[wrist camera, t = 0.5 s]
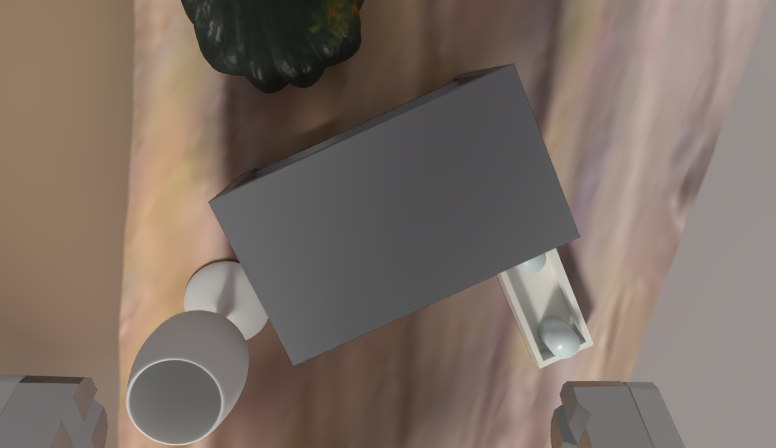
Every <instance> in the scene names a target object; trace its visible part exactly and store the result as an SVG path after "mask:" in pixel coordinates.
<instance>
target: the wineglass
mask: <svg viewBox="0 0 776 448" xmlns="http://www.w3.org/2000/svg"><path fill="white" fill-rule="evenodd" d="M184 310H185V312H183V313H180V314H177V315H175V316H173V317H171V318H170V319H168V320H166V321H165V322H164V323H162V324H161V325H160V326H159V327H158V328H157V329H156V330H155V331H154V332H153V333H152V334H151V335H150V336H149V337H148V339H147V340H146V341H145V343H144V344H143V346H142V347H141V349H140V351H139V353H138V355H137V357H136V359H135V361H134V364H133V366H132V369H131V373H130V376H129V380H128V385H127V390H126V407H127V411H128V414H129V416H130V418H131V420H132V422H133V423H134V425H135V426H136V427H137V429H138V430H139V431H140V432H142V433H143V434H144V435H145V436H147V437H148V438H150V439H152V440H154V441H156V442H159V443H162V444H167V445H186V444H190V443H194V442H196V441H199V440H201V439H203V438H204V437H206V436H207V435H209V434H210V433H211V432H212V431H213V430H215V429H216V428H217V426H218V425H219V424H220V423H221V422H222V421H223V420H224V419H225V418H226V416H227V415H228V414H229V413H230V411H231V410H232V408H233V407H234V405H235V404H236V402H237V400H238V399H239V397H240V395H241V393H242V390H243V388H244V385H245V382H246V378H247V374H248V368H249V352H248V347H247V343H246V340H248V339H250V338H252V337H253V336H255V335H256V334H257V333H259V332H260V331H261V330H262V328H263V327H264V326H265V324H266V323H267V321H268V319H269V318H268V316H267V314H266V312H265V310H264V308H263V306H262V305H261V303H260V301H259V299H258V297H257V295H256V293H255V291H254V289H253V287H252V285H251V283H250V281H249V280H248V278H247V276H246V274H245V272H244V270H243V268H242V266H241V264H240V263H237V262H231V261H222V262H216V263H212V264H209V265H207V266H205V267H203V268H202V269H200V270H199V271H198V272H197V273H196V274H195V275H194V276H193V277H192V278H191V279H190V281H189V283H188V284H187V287H186V289H185V293H184Z"/></svg>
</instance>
